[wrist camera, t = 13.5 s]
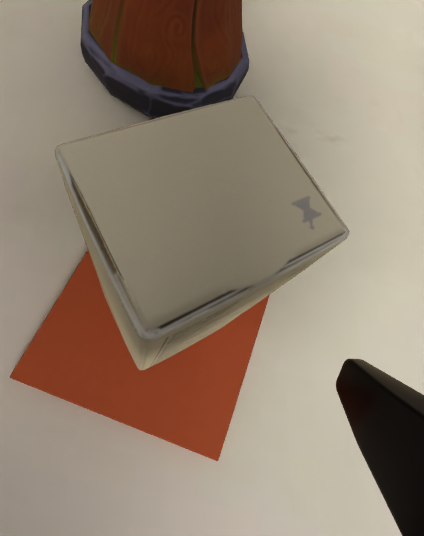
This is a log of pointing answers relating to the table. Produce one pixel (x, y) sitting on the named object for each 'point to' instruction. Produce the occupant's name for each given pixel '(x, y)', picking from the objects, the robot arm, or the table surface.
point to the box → (194, 220)
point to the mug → (166, 51)
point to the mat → (130, 377)
